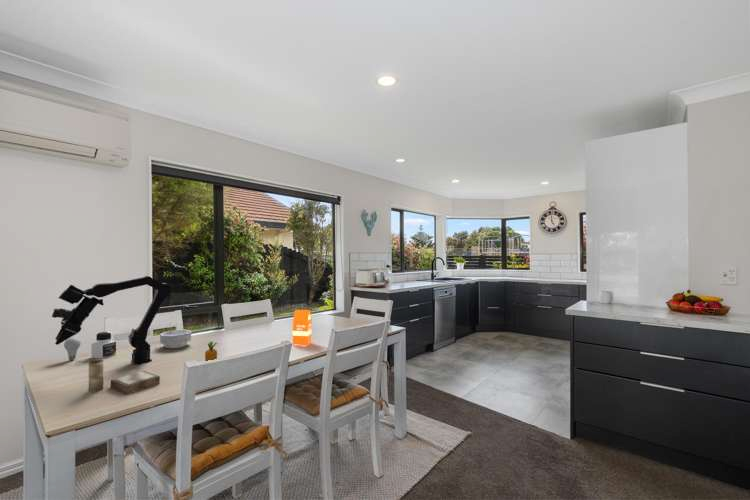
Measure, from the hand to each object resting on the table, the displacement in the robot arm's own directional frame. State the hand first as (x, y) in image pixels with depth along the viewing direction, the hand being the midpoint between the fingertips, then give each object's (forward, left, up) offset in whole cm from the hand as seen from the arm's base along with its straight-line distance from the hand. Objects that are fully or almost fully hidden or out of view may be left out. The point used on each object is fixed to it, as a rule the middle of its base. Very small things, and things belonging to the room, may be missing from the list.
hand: (56, 342), depth 147 cm
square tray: (-12, +39, -15) cm, 43 cm away
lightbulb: (-13, -20, -15) cm, 28 cm away
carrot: (-34, +55, -15) cm, 66 cm away
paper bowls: (-53, -2, -15) cm, 55 cm away
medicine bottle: (-24, -15, -15) cm, 32 cm away
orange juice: (-93, +55, -15) cm, 109 cm away
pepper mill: (-2, +31, -15) cm, 34 cm away
